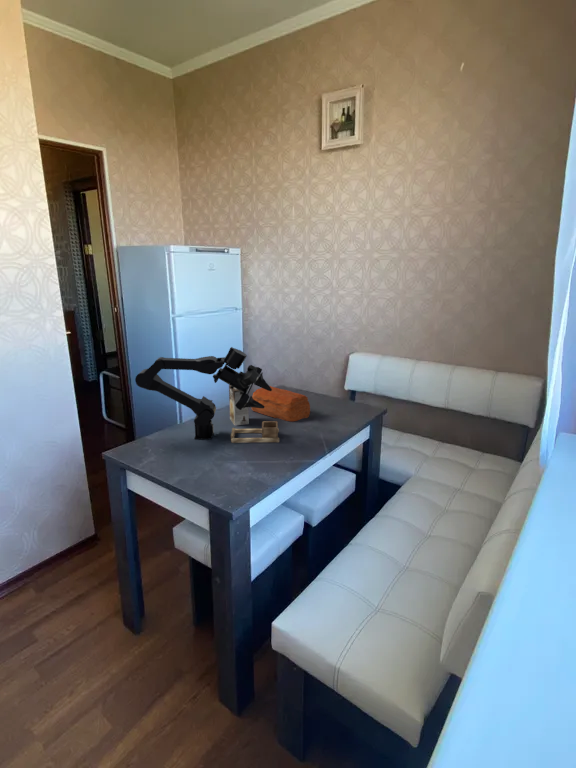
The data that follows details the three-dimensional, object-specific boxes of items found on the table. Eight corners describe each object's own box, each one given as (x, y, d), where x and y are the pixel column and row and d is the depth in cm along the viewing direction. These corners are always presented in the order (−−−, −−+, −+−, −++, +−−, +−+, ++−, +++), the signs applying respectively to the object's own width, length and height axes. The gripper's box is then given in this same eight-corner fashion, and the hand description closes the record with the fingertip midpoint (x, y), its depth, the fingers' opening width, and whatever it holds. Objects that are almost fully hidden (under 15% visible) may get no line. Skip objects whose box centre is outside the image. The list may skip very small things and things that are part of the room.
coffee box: (229, 420, 184) (228, 384, 179) (243, 418, 186) (242, 383, 182) (234, 427, 176) (233, 390, 171) (249, 425, 178) (248, 389, 173)
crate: (262, 440, 161) (261, 428, 160) (262, 433, 168) (262, 421, 167) (277, 440, 162) (277, 428, 160) (277, 433, 168) (277, 421, 167)
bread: (270, 402, 207) (270, 382, 204) (313, 415, 190) (314, 393, 187) (247, 410, 196) (246, 389, 193) (291, 425, 179) (291, 401, 176)
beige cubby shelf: (230, 445, 159) (229, 438, 158) (232, 432, 170) (232, 426, 169) (283, 444, 160) (283, 437, 159) (282, 432, 171) (282, 425, 170)
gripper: (231, 384, 149) (269, 407, 152) (249, 350, 161) (284, 371, 164) (220, 399, 157) (256, 420, 160) (238, 366, 169) (271, 385, 172)
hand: (267, 398), depth 164 cm, fingers open, 9 cm apart
